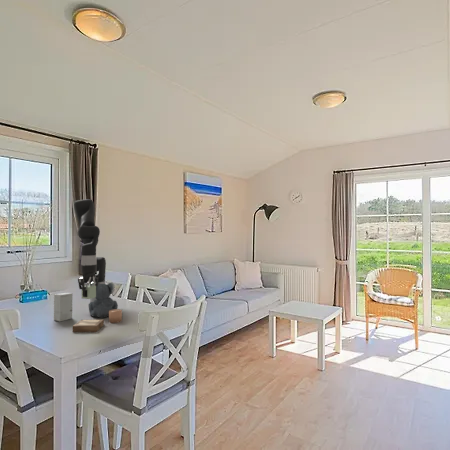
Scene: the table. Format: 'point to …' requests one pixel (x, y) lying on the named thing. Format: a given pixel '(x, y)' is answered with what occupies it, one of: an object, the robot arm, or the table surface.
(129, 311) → the table surface
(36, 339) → the table surface
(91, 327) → the walnut base
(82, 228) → the robot arm
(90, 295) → the sage block
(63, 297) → the skincare box
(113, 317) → the tan rounded block
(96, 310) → the koala plush
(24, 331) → the table surface
